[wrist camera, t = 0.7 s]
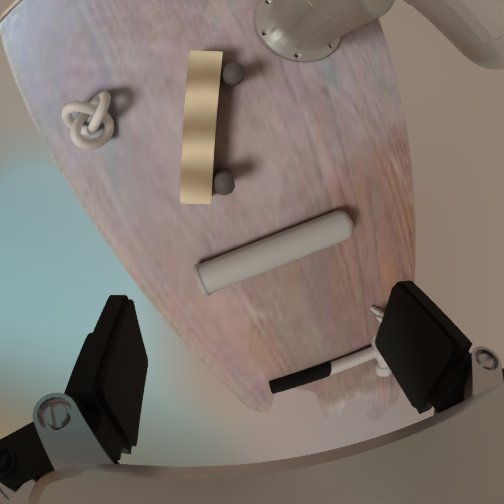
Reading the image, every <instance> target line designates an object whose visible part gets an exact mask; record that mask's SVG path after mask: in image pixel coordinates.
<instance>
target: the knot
mask: <svg viewBox="0 0 504 504" xmlns="http://www.w3.org/2000/svg"><path fill="white" fill-rule="evenodd" d="M110 101H111V96H110V94H109V93H108V92H106V91H104V92H101V93H99V94H97V95H96V96H95V97H94V98H93V99H92V100H91V101H90V102H89V103H87V102H82V101H74V102H70V103H68V104H67V105H65V106H64V108H63V110H62V119H63V121H64V123H65V124H66V125H67V126H68V127H69V128H70V129H71V131H70V134H71V139H72V141H73V143H74V144H75V145H76V146H78V147H79V148H82V149H86V150H92V149H96V148H99V147H101V146H103V145H104V144H106V143H107V142H108V141H109V140H110V138H111V137H112V135H113V132H114V121H113V119H112V117H111V116H110V114H109V113H108V112H107V111H108V108H109V105H110ZM72 112H80V114H79V115H78V116H77V117H76V119H74V118H73V116H72V114H71V113H72ZM90 115H92V116H93V118H92V120H91V121H90V123H89V125H84V122H85V121H86V120H87V118H88V117H89V116H90ZM102 122H103V124H104V132H103V133H102V134H101V135H100V136H99V137H97V138H94V139H87V138H84V137H83V136H82V135H91V134H93V133H95V132H96V131H97V129H98V128H99V126H100V124H101V123H102ZM81 134H82V135H81Z"/></svg>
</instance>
